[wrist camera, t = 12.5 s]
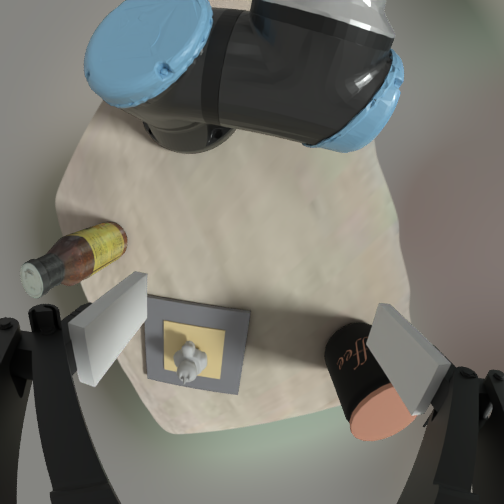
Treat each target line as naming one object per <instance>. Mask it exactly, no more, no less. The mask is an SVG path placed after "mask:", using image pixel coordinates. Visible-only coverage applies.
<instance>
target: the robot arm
mask: <svg viewBox="0 0 504 504" xmlns="http://www.w3.org/2000/svg"><path fill="white" fill-rule="evenodd" d="M386 2H387V0H252V3H251V9H250V11H246V10H237V9H227V8H214V7H211V6H210V3H209V1H208V0H125V1H124V2H122V3H121V4H120V5H119V6H118V7H117V8H116V9H114V10H113V11H112V12H110V13H109V14H108V15H107V16H106V17H105V18H104V19H103V21H102V22H101V23H100V24H99V26H98V27H97V29H96V30H95V32H94V33H93V35H92V37H91V39H90V41H89V44H88V46H87V49H86V53H85V58H84V72H85V77H86V78H87V81H88V83H89V86H90V87H91V89H92V90H93V91H94V92H95V93H96V94H98V95H99V96H100V97H101V98H102V99H103V100H104V101H105V102H106V103H108V104H109V105H111V106H115V107H117V108H120V109H122V110H124V111H126V112H127V113H129V114H131V115H133V116H135V117H137V118H139V119H140V120H142V121H143V124H144V127H145V129H146V131H147V132H148V134H149V135H150V136H151V137H152V139H153V140H155V141H156V142H157V143H158V144H160V145H161V146H163V147H165V148H167V149H169V150H172V151H174V152H178V153H184V154H195V153H201V152H205V151H208V150H211V149H213V148H215V147H217V146H219V145H220V144H222V143H223V142H224V141H226V140H227V139H228V138H229V137H230V136H231V135H232V134H233V133H234V132H235V130H236V129H240V130H245V131H251V132H256V133H261V134H265V135H270V136H275V137H279V138H283V139H288V140H292V141H296V142H300V143H302V145H304V146H306V147H310V148H317V147H320V148H324V149H328V150H332V151H336V152H341V153H347V152H351V151H356V150H359V149H361V148H363V147H364V146H366V145H367V144H369V143H370V142H371V141H372V140H373V139H374V138H375V137H376V136H377V135H378V134H379V133H380V131H381V130H382V129H383V128H384V126H385V125H386V123H387V122H388V120H389V119H390V117H391V115H392V113H393V111H394V110H395V107H396V105H397V103H398V100H399V97H400V94H401V92H400V90H399V87H400V86H401V84H402V83H403V80H404V68H403V64H402V61H401V59H400V57H399V56H398V55H397V54H396V53H395V51H394V50H393V49H391V46H392V43H393V41H394V38H395V32H394V30H393V28H392V26H391V24H390V23H389V21H388V19H387V17H386V15H385V11H384V7H385V5H386ZM28 314H29V320H30V325H31V329H32V332H27V331H21V330H20V326H19V322H18V321H17V320H16V319H14V318H6V317H5V318H1V319H0V504H17V496H16V495H17V470H18V458H19V449H20V441H21V433H22V428H23V422H24V416H25V411H26V406H27V401H28V397H29V393H30V388H31V384H32V380H33V387H34V397H35V407H36V414H37V421H38V428H39V433H40V438H41V444H42V448H43V453H44V457H45V462H46V466H47V469H48V473H49V476H50V480H51V483H52V487H53V491H52V492H50V499H51V503H52V504H121V502H120V501H119V499H118V497H117V495H116V493H115V491H114V489H113V487H112V485H111V483H110V481H109V479H108V477H107V475H106V473H105V470H104V468H103V466H102V464H101V461H100V459H99V457H98V454H97V452H96V449H95V447H94V444H93V442H92V439H91V437H90V434H89V431H88V428H87V425H86V422H85V419H84V416H83V413H82V410H81V407H80V404H79V400H78V396H77V393H76V389H75V385H74V381H73V378H72V375H73V374H74V373H75V372H76V371H77V373H78V377H79V381H80V382H82V383H85V384H88V385H91V386H93V387H95V386H96V385H97V384H98V382H99V381H100V380H101V378H102V377H103V375H104V374H105V373H106V371H107V370H108V369H109V367H110V366H111V365H112V363H113V362H114V361H115V359H116V358H117V357H118V355H119V354H120V353H121V351H122V350H123V349H124V347H125V346H126V345H127V344H128V342H129V341H130V340H131V338H132V337H133V336H134V334H135V333H136V332H137V331H138V329H139V328H140V327H141V325H142V324H143V323H144V322H145V320H146V319H147V273H142V272H136V271H135V272H133V273H132V274H131V275H129V276H128V277H127V278H125V279H124V280H123V281H121V282H120V283H119V284H117V285H116V286H115V287H113V288H112V289H111V290H109V291H108V292H107V293H105V294H104V295H103V296H101V297H100V298H99V299H98V300H96V301H95V302H94V303H87V304H84V305H81V306H80V307H79V308H77V309H76V310H75V311H74V312H72V313H71V314H70V315H68V316H67V317H65V318H64V319H63V320H62V321H61V319H60V312H59V309H58V307H56V306H55V305H51V304H40V305H36V306H34V307H32V308H31V309H30V310H29V312H28ZM366 345H367V346H368V348H369V349H370V351H371V352H372V354H373V355H374V357H375V358H376V360H377V362H378V363H379V365H380V366H381V368H382V369H383V371H384V372H385V374H386V375H387V377H388V379H389V380H390V382H391V383H392V385H393V386H394V388H395V390H396V391H397V393H398V394H399V396H400V398H401V399H402V401H403V403H404V404H405V406H406V407H407V409H408V411H409V412H410V414H411V416H414V415H419V414H424V413H425V412H426V410H427V408H428V407H429V405H430V403H431V404H432V406H433V407H434V409H433V411H432V413H431V415H430V416H429V417H428V419H427V421H426V422H425V424H424V425H423V427H425V426H426V425H427V428H426V431H425V434H424V437H423V440H422V443H421V446H420V450H419V452H418V455H417V458H416V461H415V463H414V466H413V468H412V471H411V473H410V476H409V478H408V481H407V483H406V485H405V487H404V489H403V492H402V494H401V496H400V498H399V500H398V502H397V504H504V374H503V372H501V371H499V370H490V371H489V372H488V374H487V376H486V378H485V379H481V378H478V376H477V374H476V373H475V372H474V371H472V370H471V369H469V368H466V367H457V368H456V367H455V366H454V365H453V364H452V363H451V362H450V361H449V360H448V359H447V358H446V357H445V356H444V355H443V354H442V353H441V352H440V351H439V350H438V349H437V348H436V347H435V346H434V345H432V344H431V343H430V342H429V341H428V340H427V339H426V338H425V337H424V336H423V335H422V334H421V333H420V332H419V331H418V330H417V329H416V328H415V327H414V326H413V325H412V324H411V323H410V322H409V321H407V320H406V319H405V318H404V317H403V316H402V315H401V314H400V313H399V312H398V311H397V310H396V309H395V308H394V307H393V306H391V305H390V304H385V303H379V304H378V308H377V311H376V315H375V318H374V321H373V324H372V328H371V331H370V334H369V337H368V340H367V343H366ZM491 410H492V413H491V415H490V417H489V418H488V415H489V413H490V412H491ZM471 486H472V490H473V493H471Z"/></svg>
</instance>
